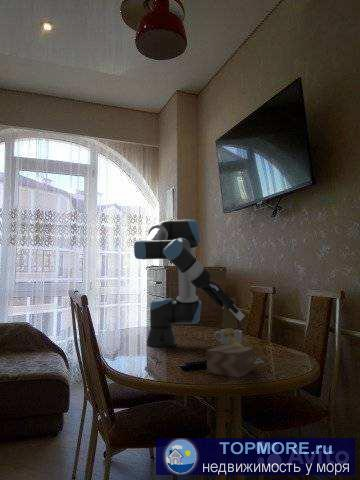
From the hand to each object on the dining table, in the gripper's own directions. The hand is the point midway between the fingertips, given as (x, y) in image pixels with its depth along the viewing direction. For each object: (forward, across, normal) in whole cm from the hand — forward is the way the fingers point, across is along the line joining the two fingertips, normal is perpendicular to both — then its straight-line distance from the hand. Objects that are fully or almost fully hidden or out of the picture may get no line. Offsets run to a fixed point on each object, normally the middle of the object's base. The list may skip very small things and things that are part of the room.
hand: (238, 317), depth 139 cm
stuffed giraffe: (+19, -16, -9) cm, 27 cm away
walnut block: (+11, 0, -16) cm, 20 cm away
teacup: (+24, -43, -4) cm, 49 cm away
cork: (0, 0, -5) cm, 5 cm away
